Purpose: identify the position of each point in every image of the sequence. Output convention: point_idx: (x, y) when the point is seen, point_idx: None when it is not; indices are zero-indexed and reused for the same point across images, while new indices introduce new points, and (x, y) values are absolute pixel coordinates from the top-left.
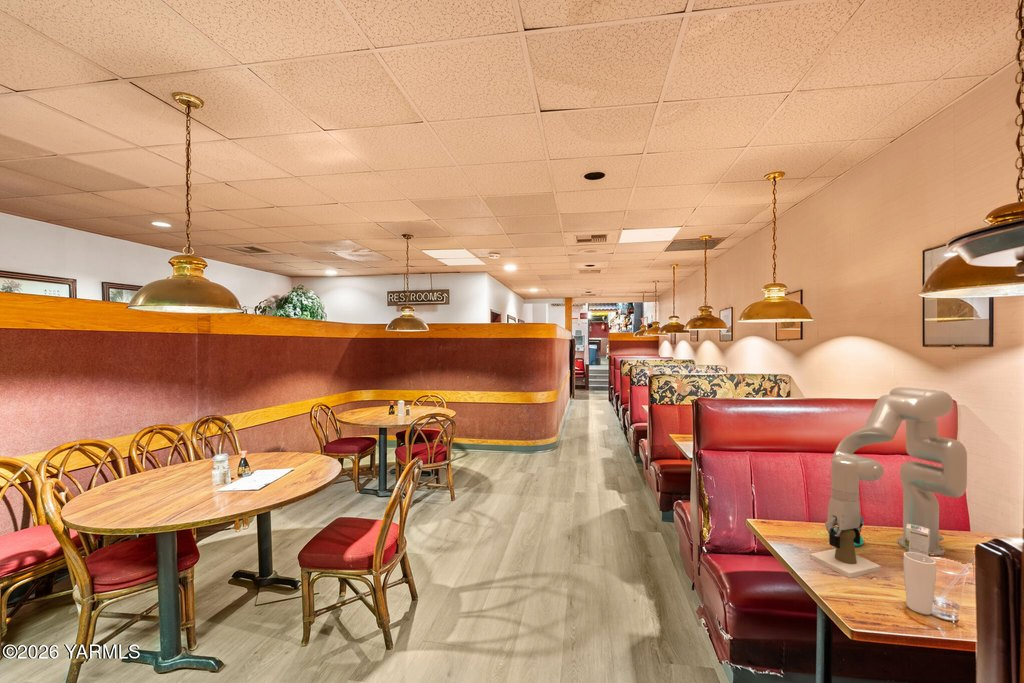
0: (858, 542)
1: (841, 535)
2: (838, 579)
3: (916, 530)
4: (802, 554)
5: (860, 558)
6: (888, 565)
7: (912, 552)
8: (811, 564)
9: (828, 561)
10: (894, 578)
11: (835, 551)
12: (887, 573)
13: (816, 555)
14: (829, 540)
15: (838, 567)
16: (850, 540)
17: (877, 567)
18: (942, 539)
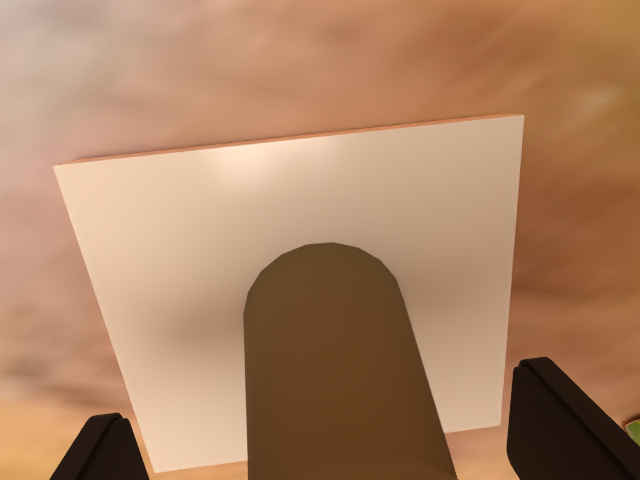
0: (518, 476)
1: None
2: (68, 445)
3: None
4: (52, 71)
5: (475, 323)
6: (611, 360)
7: None
8: (7, 254)
9: (134, 318)
10: (456, 473)
11: (280, 286)
12: (481, 430)
13: (103, 205)
14: (62, 464)
15: (139, 403)
16: None
17: (460, 425)
18: None
